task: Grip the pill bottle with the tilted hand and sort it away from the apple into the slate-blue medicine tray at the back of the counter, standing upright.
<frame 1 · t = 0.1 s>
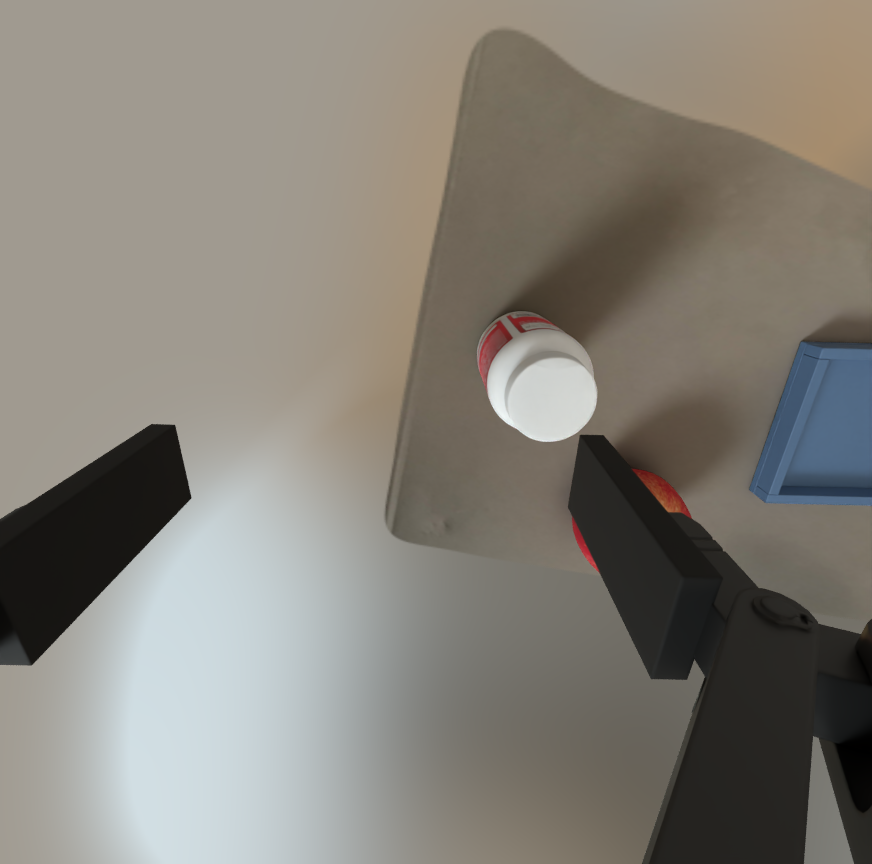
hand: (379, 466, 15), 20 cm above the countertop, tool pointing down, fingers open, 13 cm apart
pill bottle: (517, 351, 33), on the countertop
apple: (608, 492, 38), on the countertop
medicine tray: (852, 422, 35), on the countertop
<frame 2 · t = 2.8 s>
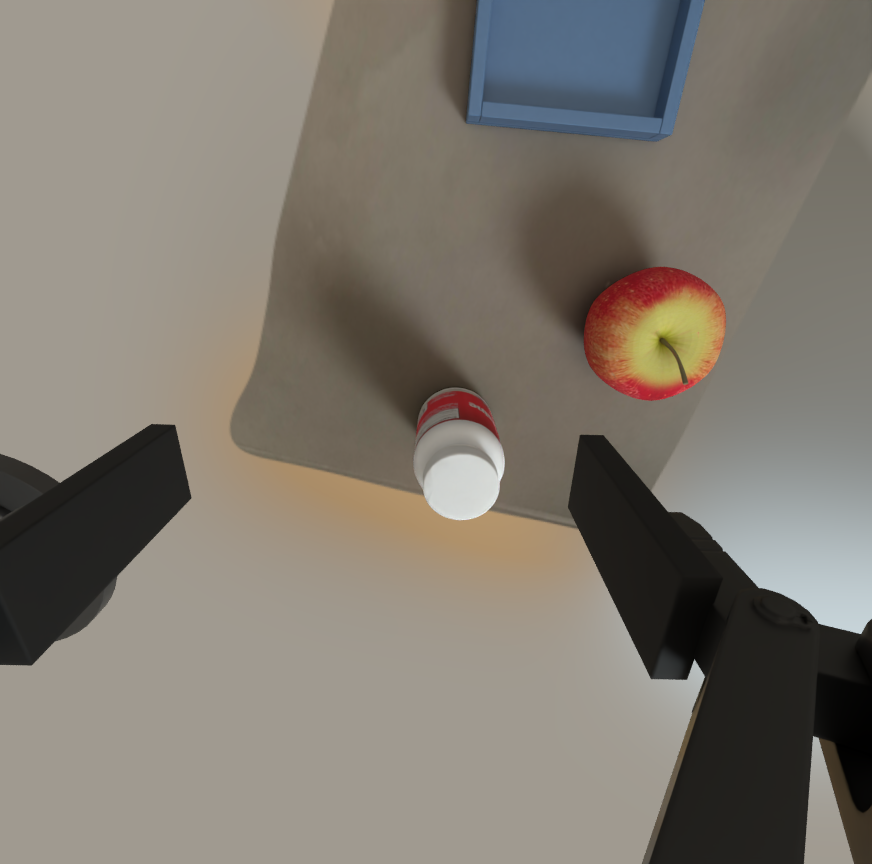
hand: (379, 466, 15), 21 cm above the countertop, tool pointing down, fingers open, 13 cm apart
pill bottle: (454, 419, 37), on the countertop
apple: (622, 322, 34), on the countertop
medicine tray: (582, 7, 27), on the countertop
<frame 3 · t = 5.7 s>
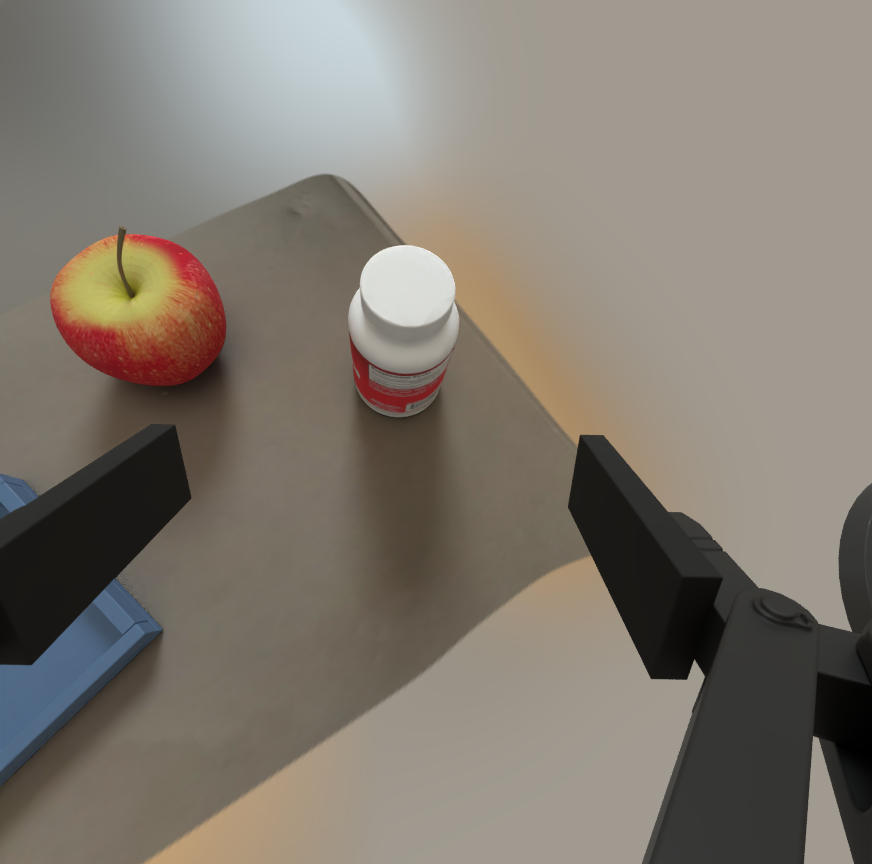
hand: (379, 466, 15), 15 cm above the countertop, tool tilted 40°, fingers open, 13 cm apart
pill bottle: (397, 380, 32), on the countertop
apple: (180, 351, 31), on the countertop
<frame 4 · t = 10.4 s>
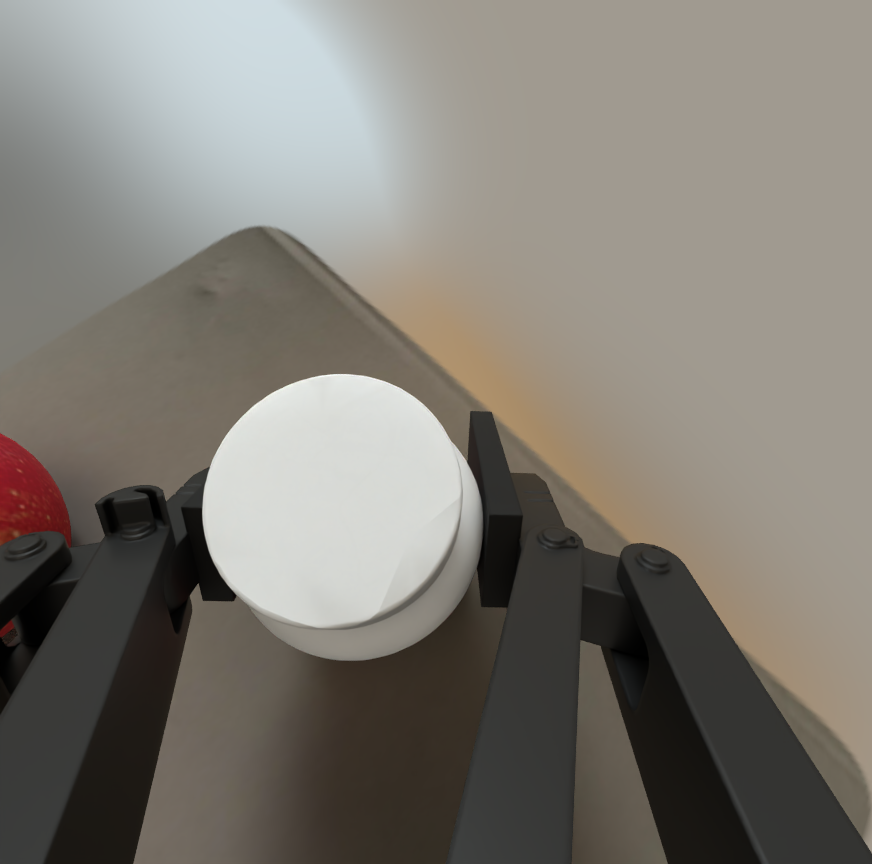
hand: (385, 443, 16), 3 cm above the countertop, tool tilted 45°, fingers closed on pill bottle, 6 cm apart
pill bottle: (387, 555, 18), on the countertop, touching gripper
apple: (18, 559, 18), on the countertop
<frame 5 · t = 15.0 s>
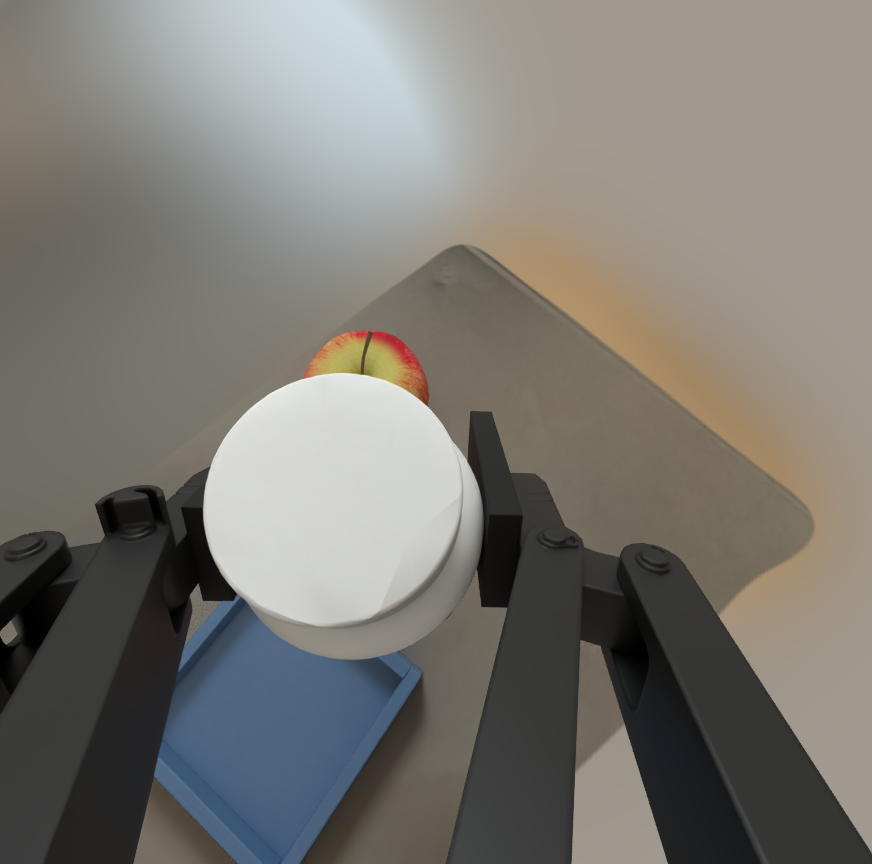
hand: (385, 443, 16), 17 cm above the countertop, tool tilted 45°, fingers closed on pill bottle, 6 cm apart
pill bottle: (388, 555, 18), point 13 cm above the countertop, touching gripper
apple: (375, 422, 35), on the countertop
medicine tray: (281, 697, 28), on the countertop
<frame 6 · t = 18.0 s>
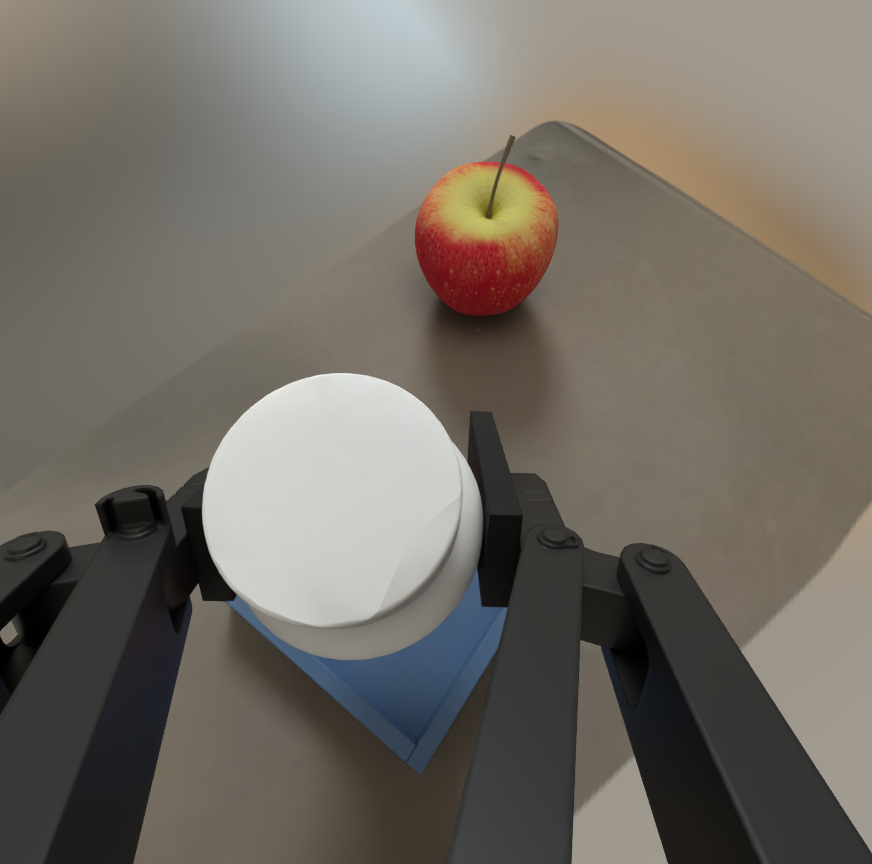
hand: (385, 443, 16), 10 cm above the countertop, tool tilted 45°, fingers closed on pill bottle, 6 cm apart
pill bottle: (387, 555, 18), point 6 cm above the countertop, touching gripper
apple: (477, 291, 31), on the countertop
medicine tray: (398, 567, 24), on the countertop
when the fingers open (4 cm above the countertop, at t = 20.0 s): pill bottle stays where it is, resting on medicine tray.
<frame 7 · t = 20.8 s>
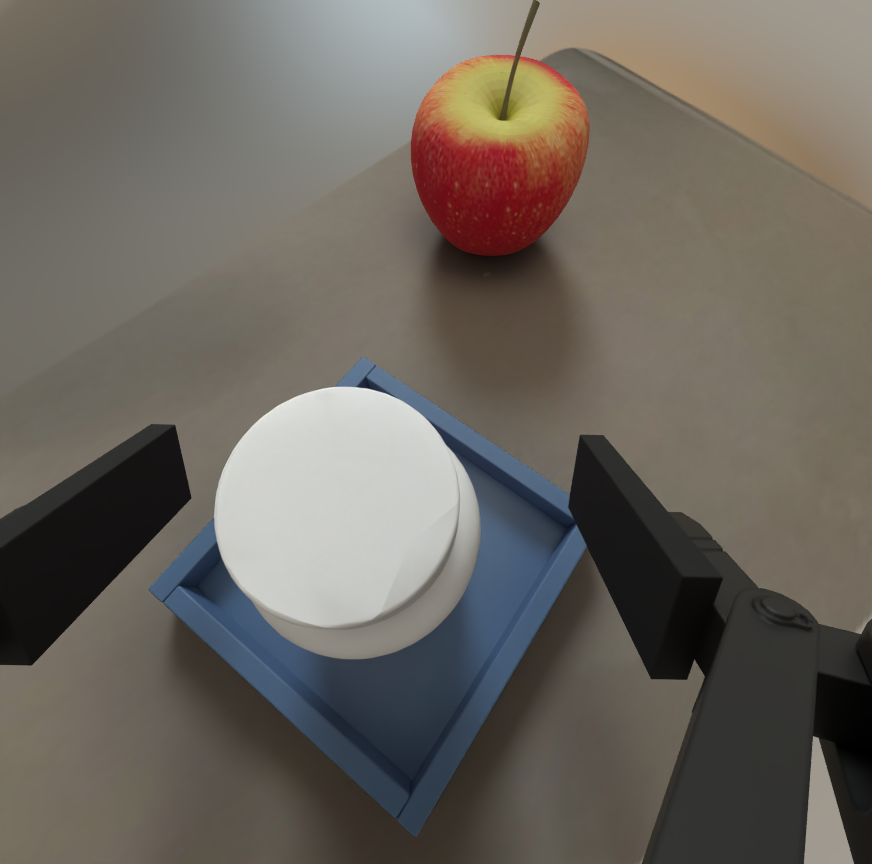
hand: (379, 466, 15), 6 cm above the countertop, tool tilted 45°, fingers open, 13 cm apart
pill bottle: (388, 557, 19), resting on medicine tray
apple: (485, 232, 26), on the countertop
medicine tray: (388, 558, 19), on the countertop
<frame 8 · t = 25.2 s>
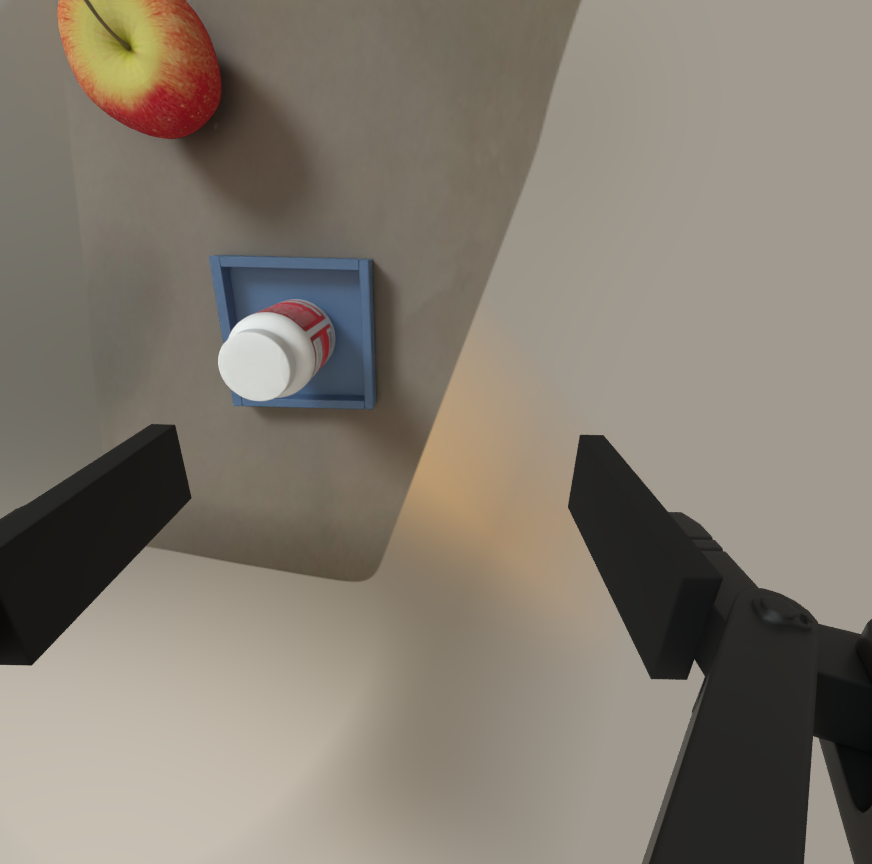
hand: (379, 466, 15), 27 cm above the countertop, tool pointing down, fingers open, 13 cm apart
pill bottle: (302, 334, 39), resting on medicine tray
apple: (185, 82, 33), on the countertop
medicine tray: (303, 333, 40), on the countertop
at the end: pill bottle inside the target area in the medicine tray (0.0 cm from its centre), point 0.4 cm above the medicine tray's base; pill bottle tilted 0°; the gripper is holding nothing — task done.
